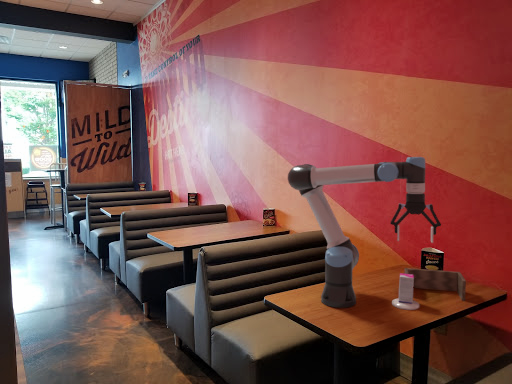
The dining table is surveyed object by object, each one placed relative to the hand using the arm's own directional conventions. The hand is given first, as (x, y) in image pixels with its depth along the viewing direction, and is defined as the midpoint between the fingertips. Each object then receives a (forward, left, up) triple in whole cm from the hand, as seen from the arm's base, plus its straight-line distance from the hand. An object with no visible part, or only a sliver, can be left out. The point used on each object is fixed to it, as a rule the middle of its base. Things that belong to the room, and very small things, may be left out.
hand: (414, 241), depth 170 cm
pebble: (-4, -6, -27) cm, 28 cm away
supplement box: (-3, -3, -26) cm, 27 cm away
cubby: (+9, +12, -27) cm, 31 cm away
